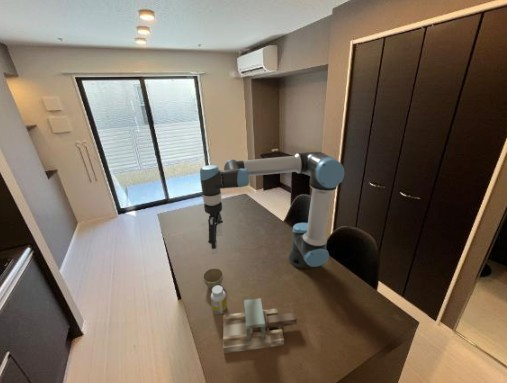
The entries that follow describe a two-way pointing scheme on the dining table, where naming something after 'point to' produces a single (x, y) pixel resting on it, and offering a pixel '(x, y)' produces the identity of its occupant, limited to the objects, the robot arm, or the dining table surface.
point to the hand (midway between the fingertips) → (217, 244)
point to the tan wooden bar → (277, 321)
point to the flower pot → (213, 277)
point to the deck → (249, 329)
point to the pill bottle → (218, 300)
